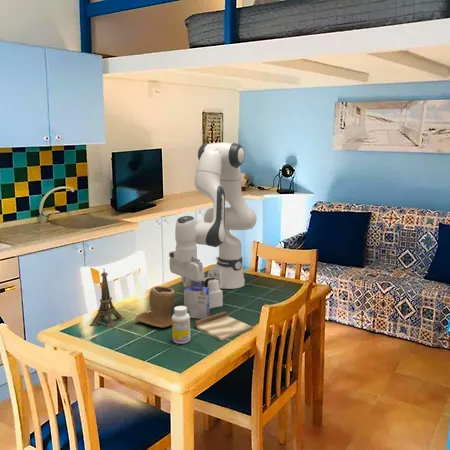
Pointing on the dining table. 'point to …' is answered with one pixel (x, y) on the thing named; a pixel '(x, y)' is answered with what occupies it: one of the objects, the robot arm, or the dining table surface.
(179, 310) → the supplement bottle
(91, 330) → the dining table surface
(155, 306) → the brown boot planter
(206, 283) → the medicine bottle
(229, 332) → the oak board
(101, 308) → the eiffel tower
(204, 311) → the ink cartridge box
